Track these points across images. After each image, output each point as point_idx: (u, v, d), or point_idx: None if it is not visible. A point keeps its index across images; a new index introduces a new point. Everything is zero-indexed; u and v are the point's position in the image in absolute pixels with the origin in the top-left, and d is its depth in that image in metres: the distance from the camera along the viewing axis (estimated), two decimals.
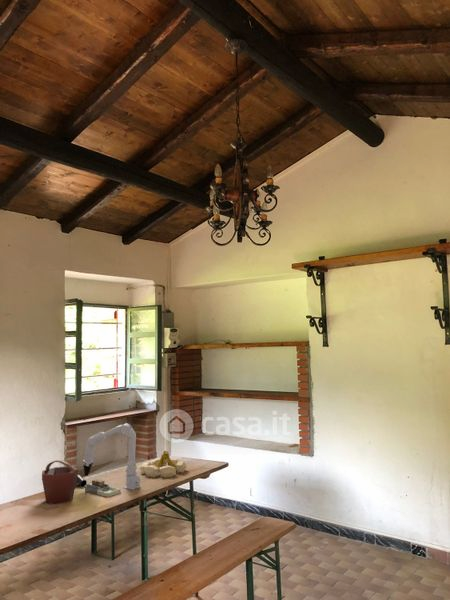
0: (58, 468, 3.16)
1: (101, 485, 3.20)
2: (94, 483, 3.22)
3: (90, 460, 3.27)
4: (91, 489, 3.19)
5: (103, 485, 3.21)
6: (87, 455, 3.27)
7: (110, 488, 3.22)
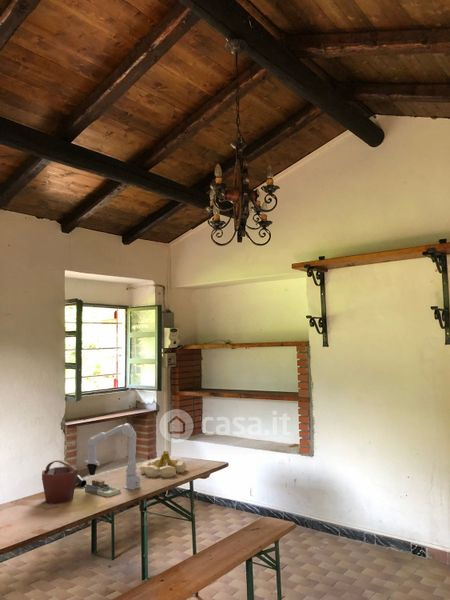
0: (58, 468, 3.16)
1: (101, 485, 3.20)
2: (94, 483, 3.22)
3: (95, 460, 3.28)
4: (91, 489, 3.19)
5: (103, 485, 3.21)
6: (92, 456, 3.27)
7: (110, 488, 3.22)
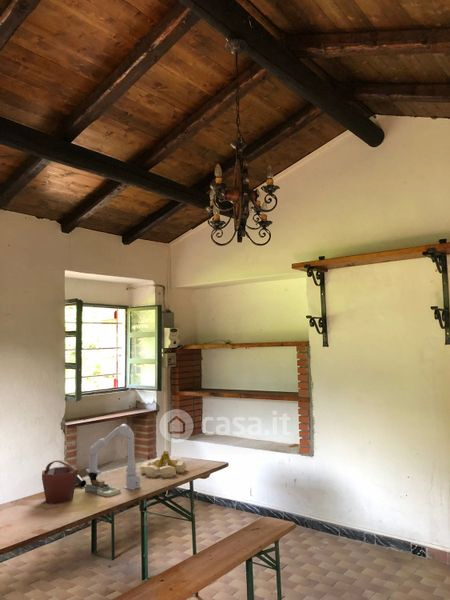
0: (58, 468, 3.16)
1: (101, 485, 3.20)
2: (94, 483, 3.22)
3: (96, 468, 3.27)
4: (91, 489, 3.19)
5: (103, 485, 3.21)
6: (93, 464, 3.25)
7: (110, 488, 3.22)
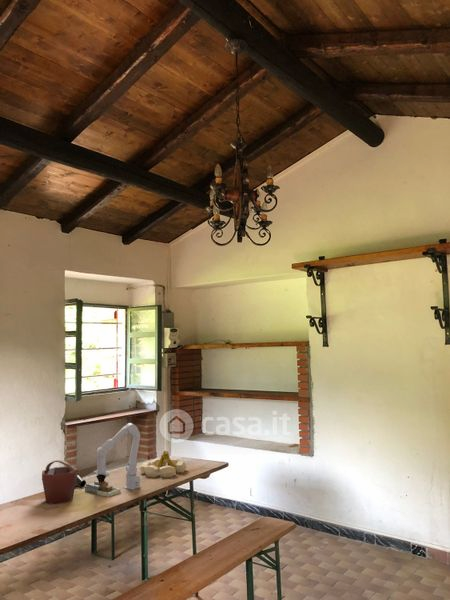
0: (58, 468, 3.16)
1: None
2: (102, 485, 3.16)
3: (105, 470, 3.21)
4: (91, 489, 3.19)
5: None
6: (102, 466, 3.20)
7: None
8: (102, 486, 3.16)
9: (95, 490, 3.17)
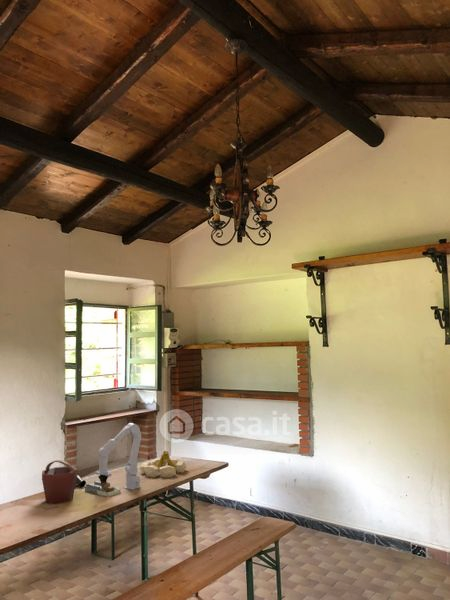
0: (58, 468, 3.16)
1: None
2: (104, 486, 3.15)
3: (107, 471, 3.20)
4: (91, 489, 3.19)
5: None
6: (104, 467, 3.18)
7: None
8: (104, 487, 3.15)
9: (95, 490, 3.17)
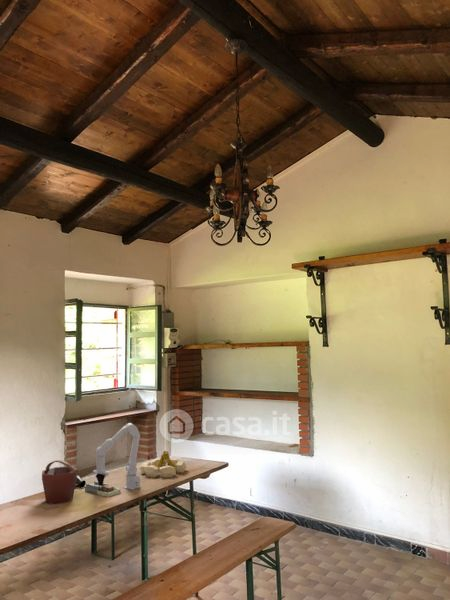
0: (58, 468, 3.16)
1: None
2: (103, 489, 3.15)
3: (104, 470, 3.22)
4: (91, 489, 3.19)
5: None
6: (101, 466, 3.20)
7: None
8: (104, 490, 3.15)
9: (95, 490, 3.17)
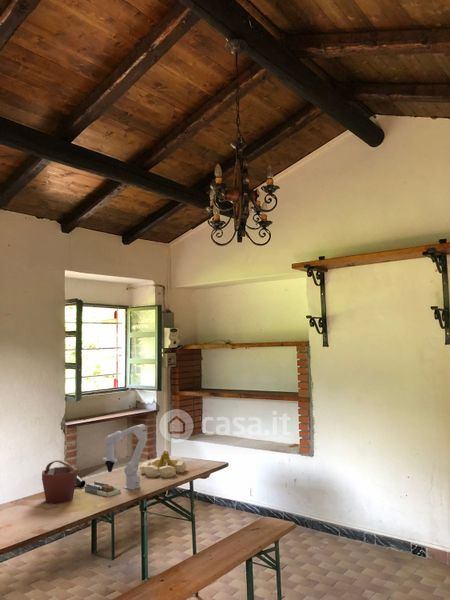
0: (58, 468, 3.16)
1: None
2: (103, 489, 3.15)
3: (113, 457, 3.35)
4: (91, 489, 3.19)
5: None
6: (110, 453, 3.33)
7: None
8: (104, 490, 3.15)
9: (95, 490, 3.17)
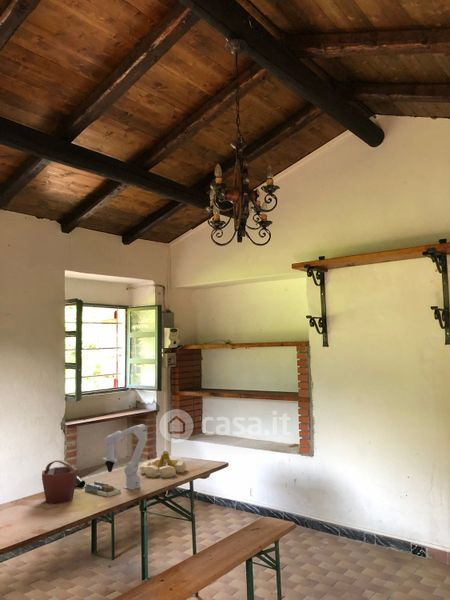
0: (58, 468, 3.16)
1: None
2: (103, 489, 3.15)
3: (113, 457, 3.35)
4: (91, 489, 3.19)
5: None
6: (110, 453, 3.33)
7: None
8: (104, 490, 3.15)
9: (95, 490, 3.17)
